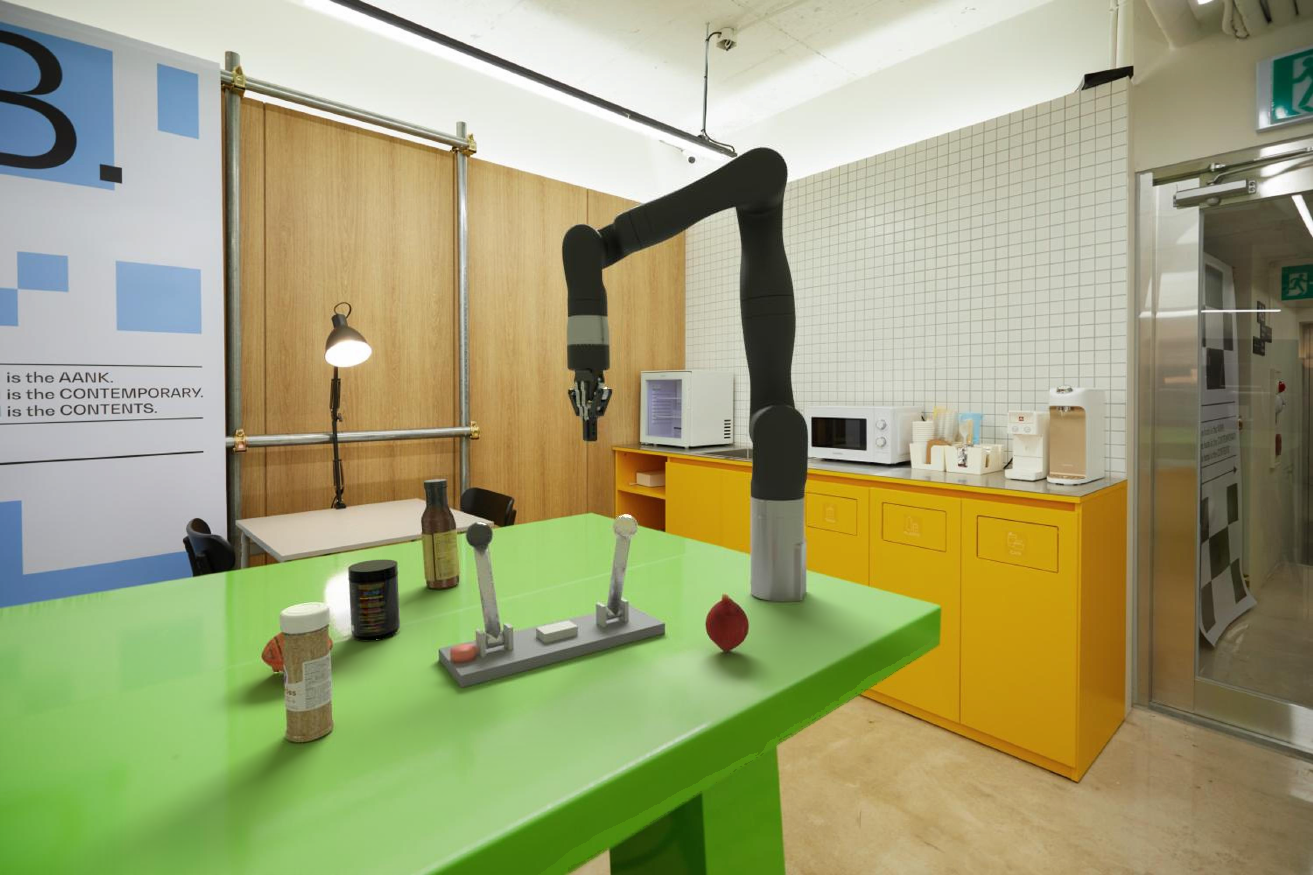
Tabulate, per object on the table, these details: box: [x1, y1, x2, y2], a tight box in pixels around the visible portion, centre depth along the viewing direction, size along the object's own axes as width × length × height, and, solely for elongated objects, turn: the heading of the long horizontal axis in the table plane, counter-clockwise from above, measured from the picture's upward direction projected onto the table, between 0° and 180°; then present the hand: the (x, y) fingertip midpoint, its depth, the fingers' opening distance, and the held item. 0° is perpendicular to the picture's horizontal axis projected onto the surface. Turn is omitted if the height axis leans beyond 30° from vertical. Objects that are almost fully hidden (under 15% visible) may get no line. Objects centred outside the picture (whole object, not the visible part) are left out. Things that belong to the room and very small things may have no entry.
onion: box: [704, 593, 750, 653], centre depth 86 cm, size 6×6×8 cm
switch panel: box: [438, 597, 666, 688], centre depth 89 cm, size 10×30×4 cm, turn 124°
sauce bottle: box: [420, 478, 461, 590], centre depth 118 cm, size 7×6×20 cm
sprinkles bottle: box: [279, 601, 335, 743], centre depth 66 cm, size 5×5×14 cm
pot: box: [261, 630, 334, 673], centre depth 81 cm, size 8×8×7 cm
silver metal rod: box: [465, 521, 506, 649], centre depth 85 cm, size 4×4×17 cm
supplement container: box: [347, 559, 401, 641], centre depth 94 cm, size 7×7×10 cm
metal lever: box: [605, 514, 639, 620], centre depth 92 cm, size 4×4×17 cm
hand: (590, 441), depth 113 cm, fingers closed
